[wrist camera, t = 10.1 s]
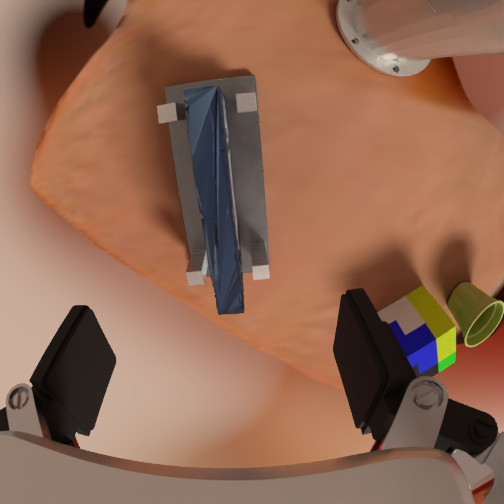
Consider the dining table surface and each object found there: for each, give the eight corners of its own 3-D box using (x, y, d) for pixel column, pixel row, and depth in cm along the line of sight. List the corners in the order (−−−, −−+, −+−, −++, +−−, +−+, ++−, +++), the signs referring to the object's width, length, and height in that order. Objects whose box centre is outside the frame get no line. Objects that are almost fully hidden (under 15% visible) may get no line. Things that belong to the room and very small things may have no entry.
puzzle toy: (368, 316, 40) (393, 364, 31) (422, 284, 38) (455, 325, 29) (382, 350, 44) (402, 393, 35) (429, 322, 42) (455, 361, 33)
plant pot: (473, 262, 37) (503, 290, 29) (480, 293, 40) (505, 321, 33) (435, 296, 39) (461, 330, 32) (445, 323, 43) (467, 355, 35)
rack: (166, 88, 25) (149, 83, 19) (254, 76, 25) (258, 67, 19) (196, 273, 35) (189, 302, 30) (269, 266, 35) (274, 295, 30)
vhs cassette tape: (242, 259, 33) (244, 315, 24) (217, 260, 33) (210, 317, 24) (230, 93, 25) (226, 82, 16) (200, 96, 25) (180, 88, 16)
